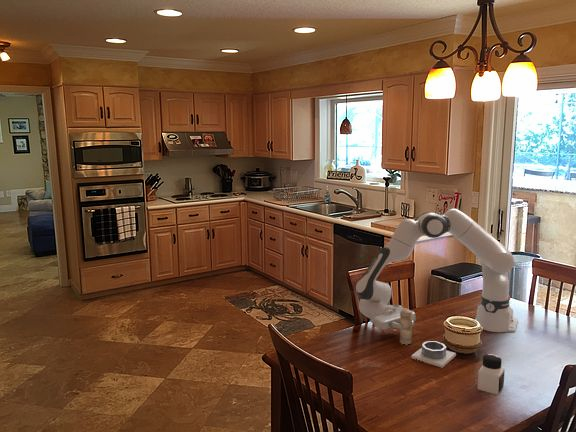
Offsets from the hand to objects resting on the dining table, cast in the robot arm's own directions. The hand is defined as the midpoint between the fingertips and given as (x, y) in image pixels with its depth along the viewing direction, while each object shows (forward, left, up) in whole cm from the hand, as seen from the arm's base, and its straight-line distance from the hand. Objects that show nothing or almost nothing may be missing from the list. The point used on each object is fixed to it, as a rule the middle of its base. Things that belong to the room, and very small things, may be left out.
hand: (407, 325), depth 206 cm
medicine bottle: (+15, +40, -9) cm, 44 cm away
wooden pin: (0, -1, -8) cm, 8 cm away
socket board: (+5, +14, -8) cm, 17 cm away
